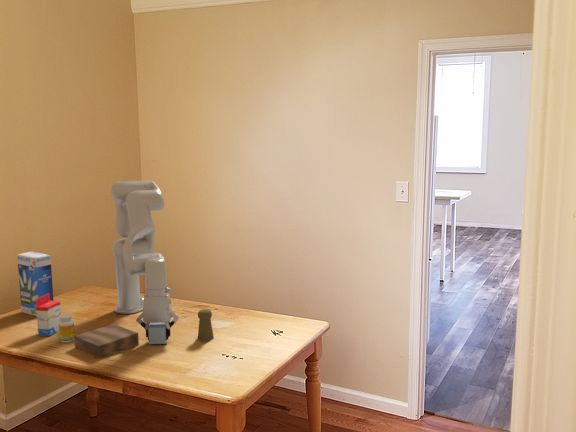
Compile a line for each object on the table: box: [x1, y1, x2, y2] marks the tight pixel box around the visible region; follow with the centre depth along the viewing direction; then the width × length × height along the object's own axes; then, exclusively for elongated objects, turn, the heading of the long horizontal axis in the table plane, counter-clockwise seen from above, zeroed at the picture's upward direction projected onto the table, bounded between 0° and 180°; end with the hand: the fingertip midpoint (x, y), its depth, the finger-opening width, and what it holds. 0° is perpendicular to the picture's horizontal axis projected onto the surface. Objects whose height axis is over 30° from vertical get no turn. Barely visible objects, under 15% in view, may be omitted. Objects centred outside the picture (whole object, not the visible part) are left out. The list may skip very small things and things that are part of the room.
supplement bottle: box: [58, 313, 76, 344], centre depth 213 cm, size 5×5×10 cm
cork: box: [197, 308, 215, 342], centre depth 214 cm, size 6×6×11 cm
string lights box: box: [16, 251, 54, 317], centre depth 245 cm, size 13×8×26 cm, turn 58°
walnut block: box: [74, 323, 140, 360], centre depth 207 cm, size 16×16×5 cm
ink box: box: [36, 293, 62, 337], centre depth 221 cm, size 8×5×15 cm, turn 168°
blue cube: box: [148, 322, 168, 345], centre depth 210 cm, size 6×6×6 cm
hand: (158, 338), depth 210 cm, fingers closed on blue cube, 6 cm apart
